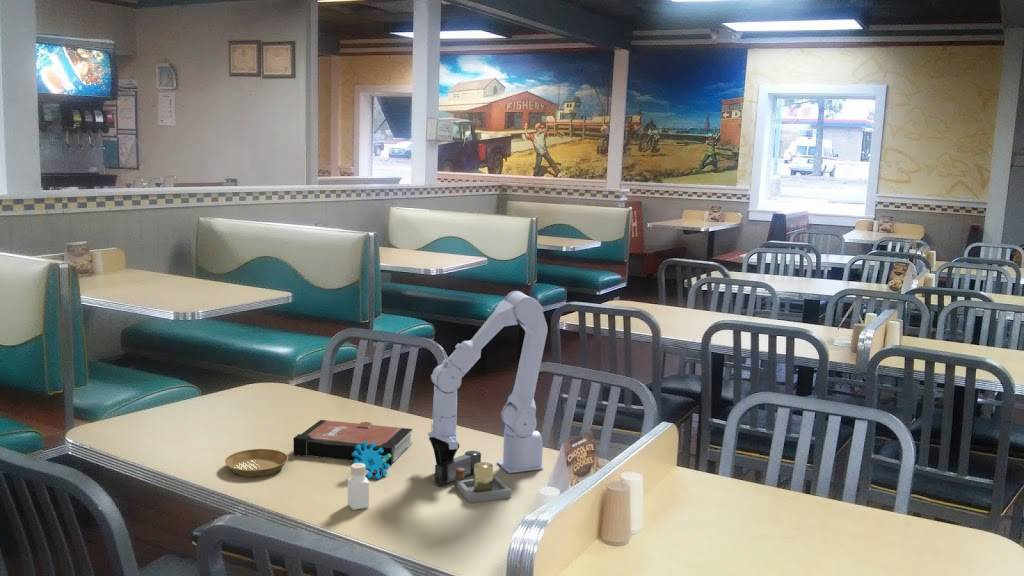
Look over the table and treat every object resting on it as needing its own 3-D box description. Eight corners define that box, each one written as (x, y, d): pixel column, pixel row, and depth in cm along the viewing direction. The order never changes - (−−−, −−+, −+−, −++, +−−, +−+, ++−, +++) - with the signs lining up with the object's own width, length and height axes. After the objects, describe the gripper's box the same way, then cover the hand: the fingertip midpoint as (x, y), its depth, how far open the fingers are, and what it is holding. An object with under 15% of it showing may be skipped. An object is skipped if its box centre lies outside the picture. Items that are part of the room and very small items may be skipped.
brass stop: (490, 485, 206) (491, 461, 205) (494, 493, 202) (494, 469, 200) (472, 486, 205) (472, 462, 204) (475, 494, 201) (475, 470, 200)
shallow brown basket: (268, 454, 224) (268, 444, 224) (299, 470, 214) (299, 460, 214) (214, 467, 214) (214, 457, 214) (244, 485, 204) (243, 475, 203)
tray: (496, 483, 210) (496, 475, 209) (510, 497, 201) (511, 490, 201) (456, 488, 206) (456, 480, 205) (470, 503, 198) (470, 495, 197)
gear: (363, 479, 205) (349, 441, 210) (350, 491, 208) (337, 454, 213) (400, 474, 213) (386, 438, 218) (387, 485, 216) (374, 449, 221)
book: (413, 444, 236) (413, 426, 235) (391, 467, 219) (391, 448, 218) (321, 434, 241) (321, 417, 240) (293, 456, 224) (293, 437, 223)
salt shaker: (352, 511, 191) (352, 469, 190) (346, 504, 195) (346, 463, 193) (369, 508, 193) (370, 467, 192) (364, 501, 197) (364, 461, 195)
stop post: (462, 483, 209) (462, 467, 208) (465, 486, 207) (465, 470, 206) (453, 484, 208) (454, 468, 207) (456, 487, 206) (457, 471, 205)
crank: (471, 466, 219) (472, 449, 218) (483, 471, 216) (484, 453, 215) (432, 482, 208) (432, 463, 207) (444, 487, 206) (444, 468, 205)
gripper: (420, 407, 217) (419, 459, 219) (438, 425, 204) (437, 480, 206) (447, 404, 220) (445, 456, 222) (467, 422, 206) (465, 477, 209)
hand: (443, 468), depth 214 cm, fingers open, 3 cm apart
